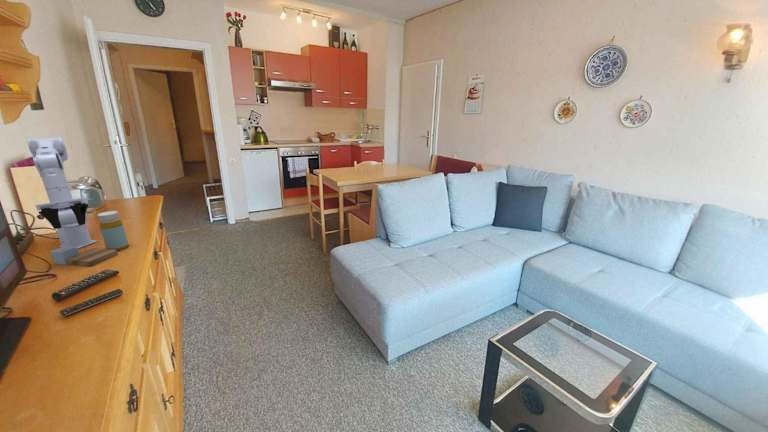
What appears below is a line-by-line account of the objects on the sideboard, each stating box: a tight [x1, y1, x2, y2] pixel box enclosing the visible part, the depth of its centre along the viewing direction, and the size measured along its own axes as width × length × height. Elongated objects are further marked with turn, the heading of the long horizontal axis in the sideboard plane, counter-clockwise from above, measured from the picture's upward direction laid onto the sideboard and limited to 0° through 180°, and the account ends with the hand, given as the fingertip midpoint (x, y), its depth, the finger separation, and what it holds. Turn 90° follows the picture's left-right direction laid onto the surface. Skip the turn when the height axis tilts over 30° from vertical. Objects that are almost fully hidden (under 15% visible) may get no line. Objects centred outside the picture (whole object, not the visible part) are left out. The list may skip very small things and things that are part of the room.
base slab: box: [67, 247, 119, 268], centre depth 117 cm, size 10×10×2 cm
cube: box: [50, 246, 80, 266], centre depth 116 cm, size 5×5×5 cm
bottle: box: [96, 210, 130, 252], centre depth 125 cm, size 7×7×15 cm
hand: (70, 226), depth 111 cm, fingers open, 7 cm apart
